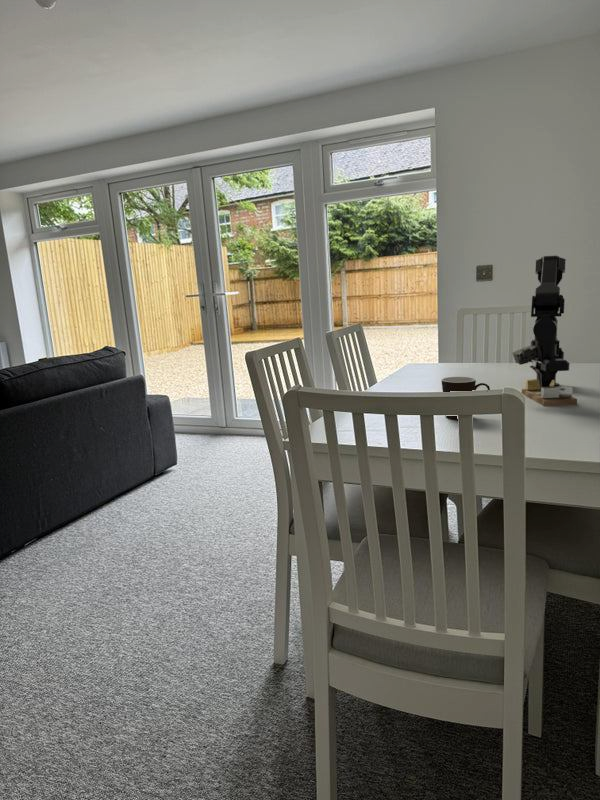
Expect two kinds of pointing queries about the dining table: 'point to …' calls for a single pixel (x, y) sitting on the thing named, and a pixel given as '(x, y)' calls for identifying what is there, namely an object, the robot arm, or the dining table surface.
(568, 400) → the copper base
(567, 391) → the steel lever handle
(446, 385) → the coffee mug
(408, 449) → the dining table surface
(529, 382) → the brass lever
